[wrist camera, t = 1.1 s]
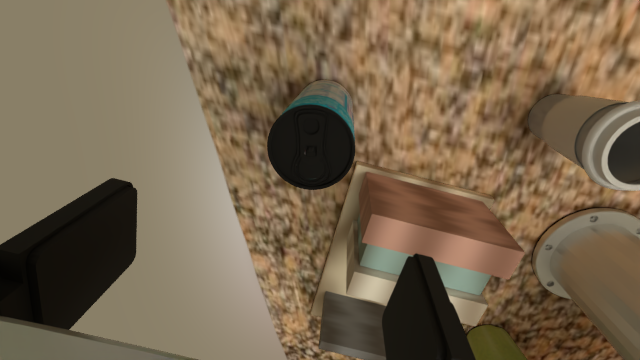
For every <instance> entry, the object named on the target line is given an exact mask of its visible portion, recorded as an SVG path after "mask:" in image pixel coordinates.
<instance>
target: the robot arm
mask: <svg viewBox="0 0 640 360" xmlns="http://www.w3.org/2000/svg"><path fill="white" fill-rule="evenodd" d="M136 228H137V190H136V188H133V185H132V183H130V182H126V181H122V180H118V179H115V178H111V179H109V180H107V181H106V182H104V183H102V184H101V185H99V186H97V187H96V188H94V189H92V190H91V191H89V192H88V193H86V194H84V195H82V196H81V197H79V198H77V199H76V200H74V201H72V202H71V203H69V204H67V205H66V206H64V207H62V208H61V209H59V210H57V211H56V212H54V213H52V214H51V215H49V216H47V217H46V218H44V219H42V220H41V221H39V222H37V223H36V224H34V225H33V226H31V227H29V228H28V229H26V230H24V231H23V232H21V233H19V234H18V235H16V236H14V237H12V238H11V239H9V240H7V241H6V242H4V243H2V244H1V245H0V360H198V359H193V358H189V357H185V356H180V355H176V354H172V353H168V352H163V351H159V350H155V349H150V348H146V347H141V346H137V345H132V344H128V343H124V342H119V341H115V340H111V339H105V338H102V337H97V336H93V335H88V334H84V333H80V332H75V331H71V330H69V329H70V328H71V327H72V326H73V325H74V324H75V323H76V322H77V321H78V319H80V318H81V317H82V316H83V315H84V313H85V312H86V311H87V310H88V309H89V308H90V307H91V306H92V305H93V304H94V303H95V302H96V301H97V300H98V299H99V298H100V296H101V295H102V294H103V293H104V292H105V291H106V290H107V289H108V288H109V287H110V286H111V285H112V284H113V283H114V282H115V281H116V280H117V279H118V277H119V276H120V275H121V274H122V273H123V272H124V271H125V270H126V269H127V268H128V267H129V266H130V265H131V264H132V262H133V260H134V258H135V255H136ZM532 265H533V270H534V273H535V275H536V277H537V278H538V280H539V281H540V283H541V284H542V285H543V286H544V287H545V288H546V289H547V290H549V291H550V292H551V293H553V294H555V295H558V296H560V297H564V298H567V299H572V300H573V301H574V302H575V303H576V304H577V305H578V307H579V308H580V309H581V310H582V311H583V312H584V314H585V315H586V316H587V317H588V318H589V319H590V321H591V322H592V323H593V324H594V325H595V326H596V328H597V329H598V330H599V331H600V332H601V333H602V335H603V336H604V337H605V338H606V339H607V341H608V342H609V343H610V344H611V345H612V346H613V348H614V349H615V350H616V351H617V352H618V353H619V355H620V356H621V357H622V358H623V359H624V360H640V220H639V219H637V218H636V217H634V216H633V215H631V214H629V213H627V212H625V211H621V210H618V209H613V208H594V209H588V210H584V211H580V212H577V213H574V214H572V215H569V216H567V217H565V218H564V219H562V220H560V221H558V222H557V223H556V224H554V225H553V226H552V227H550V228H549V229H548V230H547V231H546V232H545V233H544V235H543V236H542V237H541V239H540V240H539V241H538V243H537V245H536V247H535V250H534V253H533V258H532ZM382 329H383V337H384V345H385V353H386V360H476V359H475V356H474V354H473V351H472V349H471V346H470V344H469V341H468V339H467V337H466V334H465V332H464V329H463V327H462V324H461V322H460V319H459V317H458V314H457V312H456V309H455V307H454V305H453V303H451V301H450V299H449V296H448V294H447V291H446V289H445V286H444V284H443V281H442V279H441V276H440V274H439V271H438V269H437V266H436V264H435V261H434V259H433V258H432V257H429V256H425V255H421V254H417V253H416V254H414V255H413V257H412V256H408V258H407V259H406V262H405V264H404V266H403V269H402V271H401V273H400V275H399V278H398V280H397V282H396V285H395V287H394V289H393V292H392V294H391V296H390V299H389V301H388V303H387V306H386V308H385V310H384V313H383V316H382Z"/></svg>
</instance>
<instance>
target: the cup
mask: <svg viewBox="0 0 640 360" xmlns="http://www.w3.org/2000/svg"><path fill="white" fill-rule="evenodd" d="M528 126H529V129H530V130H531V132H532V133H533V134H534V135H536V136H537V137H539V138H540V139H542V140H543V141H545V142H546V143H547V144H548V145H549V146H550V147H551V148H553V149H554V150H556V151H557V152H559V153H560V154H562V155H563V156H565V157H566V158H568V159H569V160H571V161H572V162H574V163H575V164H577V165H578V166H580V167H581V168H583V169H584V170H585V171H586V173H587V175H588V176H589V177H590V178H591V179H592V180H593V181H594V182H596V183H597V184H599V185H601V186H603V187H606V188H609V189H615V190H630V191H639V190H640V101H633V102H623V101H616V100H609V99H602V98H595V97H587V96H570V95H563V94H553V95H549V96H546V97H544V98H542V99H541V100H539V101H538V102H537V103H536V104H535V105H534V106H533V108H532V109H531V111H530V114H529V117H528Z"/></svg>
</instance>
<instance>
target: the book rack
mask: <svg viewBox="0 0 640 360" xmlns="http://www.w3.org/2000/svg"><path fill="white" fill-rule="evenodd" d="M494 201H495V200H494V199H493V198H492V196H490V195H487V194H483V193H479V192H475V191H471V190H467V189H463V188H460V187H456V186H452V185H448V184H444V183H440V182H436V181H432V180H429V179H425V178H421V177H417V176H413V175H409V174H405V173H401V172H398V171H394V170H390V169H386V168H382V167H378V166H374V165H371V164H367V163H363V162H359V161H357V162H356V166H355V169H354V172H353V175H352V179H351V182H350V185H349V188H348V192H347V195H346V198H345V201H344V204H343V208H342V211H341V214H340V217H339V221H338V224H337V227H336V230H335V234H334V237H333V240H332V243H331V247H330V250H329V253H328V256H327V260H326V263H325V266H324V269H323V272H322V276H321V279H320V282H319V285H318V289H317V292H316V295H315V298H314V302H313V305H312V308H311V315H314V316H318V317H322V320H321V330H320V340H319V349H323V350H327V351H331V352H335V353H339V354H343V355H347V356H351V357H356V358H360V359H364V360H386V353H385V345H384V337H383V329H382V316H383V313H384V310H385V308H386V306H387V303H388V301H389V299H390V296H391V294H392V292H393V289H394V287H395V285H396V282H397V280H398V278H399V275H400V273H401V271H402V269H403V266H404V264H405V262H406V259H407V258H408V256H412V257H413V255H414V254H416V253H417V254H421V255H425V256H429V257H432V258H433V259H434V261H435V264H436V266H437V269H438V271H439V274H440V276H441V279H442V281H443V284H444V286H445V289H446V291H447V294H448V296H449V299H450V301H451V303H453V305H454V307H455V309H456V312H457V314H458V317H459V319H460V322H461V323H464V324H468V325H472V326H476V325H477V323H478V322H479V320H480V318H481V317H482V315H483V313H484V311H485V310H486V308H487V306H488V304H487V302H486V300H485V298H484V296H483V294H482V291H483V289H484V287H485V285H486V284H487V282H488V280H489V278H490V277H491V275H493V276H496V277H500V278H504V279H508V280H509V279H510V277H511V275H512V274H513V272H514V271H515V269H516V267H517V266H518V264H519V262H520V261H521V259H522V257H523V256H524V254H525V252H524V251H523V250H522V248H521V247H520V246H519V245H518V243H517V242H516V241H515V240H514V239H513V237H512V236H511V235H510V234H509V233H508V231H507V230H506V229H505V228H504V227H503V225H502V224H501V223H500V222H499V220H498V219H497V218H496V217H495V216H494V214H493V213H492V212H491V211H490V209H491V207H492V205H493V203H494Z"/></svg>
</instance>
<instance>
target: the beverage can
mask: <svg viewBox="0 0 640 360" xmlns="http://www.w3.org/2000/svg"><path fill="white" fill-rule="evenodd" d="M267 149H268V156H269V159H270V162H271V164H272V166H273V168H274V169H275V171H276V172H277V173H278V174H279V176H280V177H282V178H283V179H284V180H285V181H286V182H288V183H290V184H292V185H294V186H296V187H299V188H303V189H309V190H317V189H323V188H327V187H330V186H332V185H334V184H335V183H337V182H339V181H340V180H341V179H342V178H343V177H344V176H345V175H346V174H347V173H348V171H349V170H350V168H351V166H352V163H353V160H354V156H355V137H354V120H353V104H352V100H351V97H350V95H349V93H348V92H347V90H346V89H345V88H344V87H343V86H341V85H340V84H338V83H336V82H334V81H330V80H319V81H315V82H313V83H311V84H309V85H308V86H307V87H306V88H304V90H303V91H302V92H301V93H300V94H299V95H298V96H297V97H296V99H295V100H294V101H293V102H292V103H291V104H290V105H289V106H288V108H287V109H286V110H285V111H284V112H283V113H282V115H281V116H280V117H279V118H278V119H277V120H276V122H275V123H274V125H273V126H272V128H271V130H270V133H269V136H268V142H267Z"/></svg>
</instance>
